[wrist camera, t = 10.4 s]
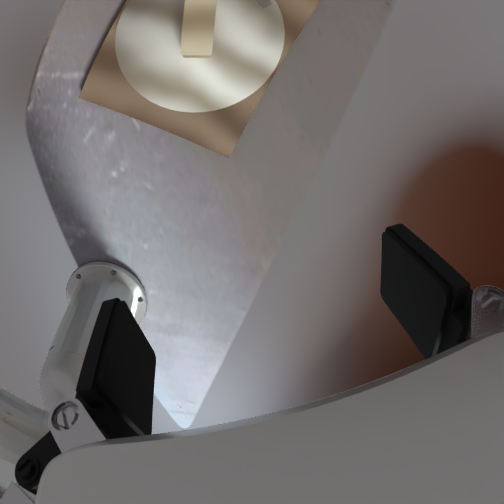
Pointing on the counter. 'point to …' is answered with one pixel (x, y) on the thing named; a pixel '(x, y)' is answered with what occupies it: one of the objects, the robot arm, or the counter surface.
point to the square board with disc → (194, 66)
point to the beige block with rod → (198, 28)
